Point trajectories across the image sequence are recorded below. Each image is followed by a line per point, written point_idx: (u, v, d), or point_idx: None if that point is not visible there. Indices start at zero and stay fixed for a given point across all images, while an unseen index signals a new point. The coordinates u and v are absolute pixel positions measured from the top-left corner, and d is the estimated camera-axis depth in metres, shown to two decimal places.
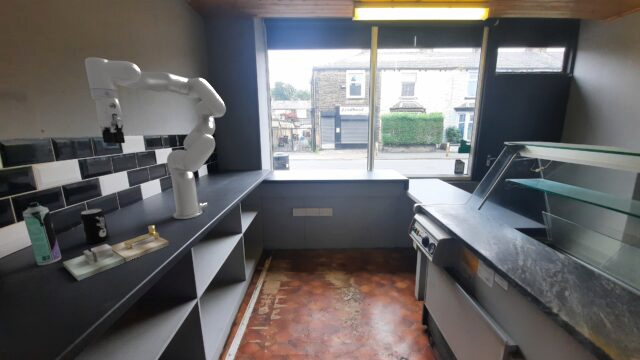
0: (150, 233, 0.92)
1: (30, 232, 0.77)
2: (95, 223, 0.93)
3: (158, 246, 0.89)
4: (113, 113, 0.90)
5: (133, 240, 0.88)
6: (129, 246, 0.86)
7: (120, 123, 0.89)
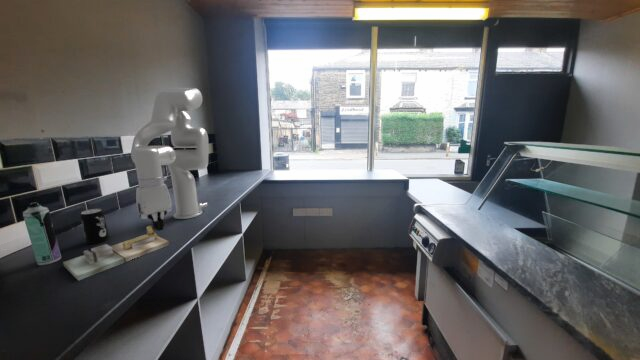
0: (148, 234, 0.92)
1: (30, 232, 0.77)
2: (95, 223, 0.93)
3: (158, 246, 0.89)
4: None
5: (131, 241, 0.87)
6: (127, 247, 0.86)
7: None
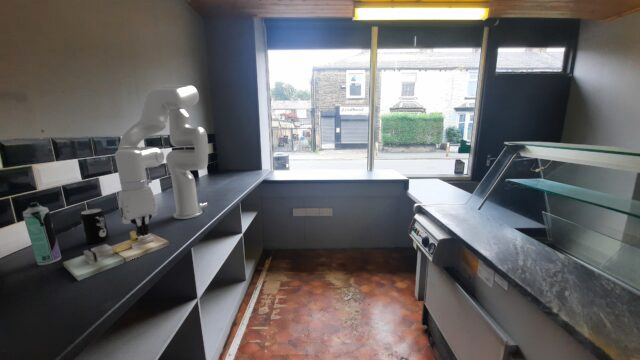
0: (132, 239, 0.87)
1: (30, 232, 0.77)
2: (95, 223, 0.93)
3: (158, 246, 0.89)
4: None
5: (113, 247, 0.83)
6: None
7: None
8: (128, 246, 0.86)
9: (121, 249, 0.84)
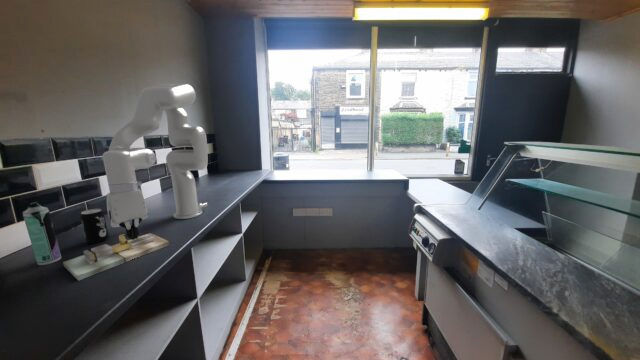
0: (121, 243, 0.85)
1: (30, 232, 0.77)
2: (95, 223, 0.93)
3: (158, 246, 0.89)
4: None
5: None
6: (96, 258, 0.79)
7: None
8: (117, 250, 0.83)
9: None
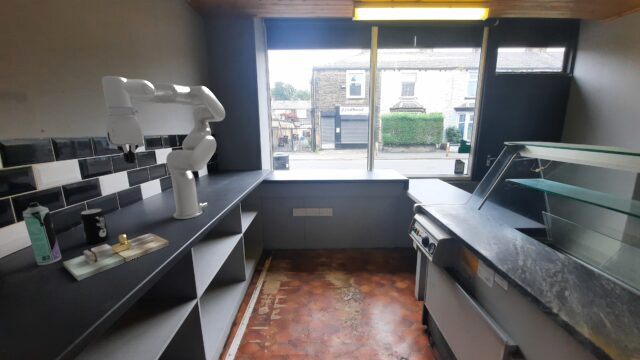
0: (121, 243, 0.85)
1: (30, 232, 0.77)
2: (95, 223, 0.93)
3: (158, 246, 0.89)
4: None
5: None
6: (96, 258, 0.79)
7: (140, 146, 0.97)
8: (117, 250, 0.83)
9: None
